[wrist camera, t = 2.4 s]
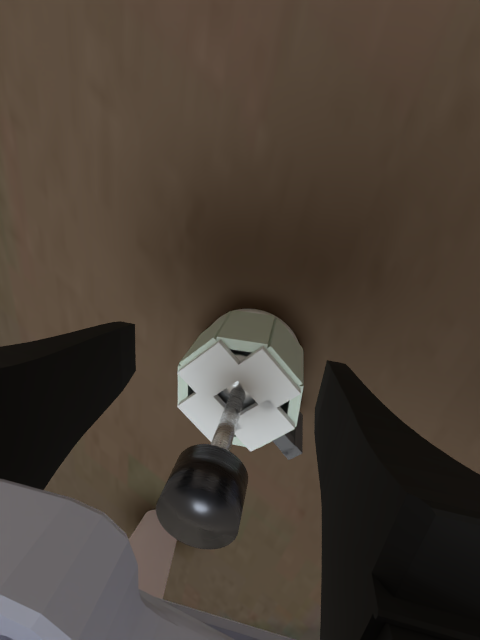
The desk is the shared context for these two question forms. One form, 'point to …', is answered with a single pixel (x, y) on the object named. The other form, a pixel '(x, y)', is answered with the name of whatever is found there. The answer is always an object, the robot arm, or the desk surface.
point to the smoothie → (152, 554)
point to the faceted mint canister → (246, 379)
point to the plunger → (208, 483)
